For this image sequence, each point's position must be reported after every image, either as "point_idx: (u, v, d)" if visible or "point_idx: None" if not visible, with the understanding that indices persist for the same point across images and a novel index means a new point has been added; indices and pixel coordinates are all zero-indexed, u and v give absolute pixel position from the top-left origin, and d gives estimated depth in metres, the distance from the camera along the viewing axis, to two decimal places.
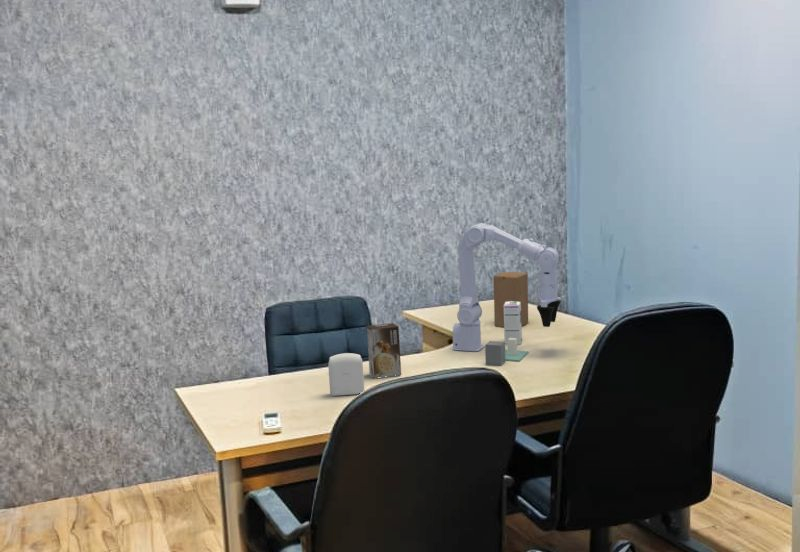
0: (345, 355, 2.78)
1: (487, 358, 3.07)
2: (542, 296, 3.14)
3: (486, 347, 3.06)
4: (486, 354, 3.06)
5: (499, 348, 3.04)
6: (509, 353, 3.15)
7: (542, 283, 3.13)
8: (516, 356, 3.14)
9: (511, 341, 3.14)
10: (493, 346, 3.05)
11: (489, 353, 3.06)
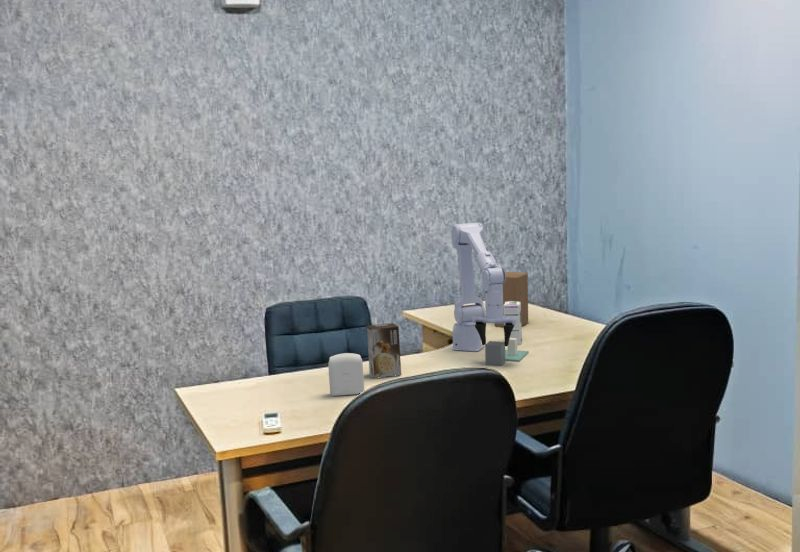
0: (345, 355, 2.78)
1: (487, 358, 3.07)
2: None
3: (486, 347, 3.06)
4: (486, 354, 3.06)
5: (499, 348, 3.04)
6: (509, 353, 3.15)
7: None
8: (516, 356, 3.14)
9: (511, 341, 3.14)
10: (493, 346, 3.05)
11: (489, 353, 3.06)
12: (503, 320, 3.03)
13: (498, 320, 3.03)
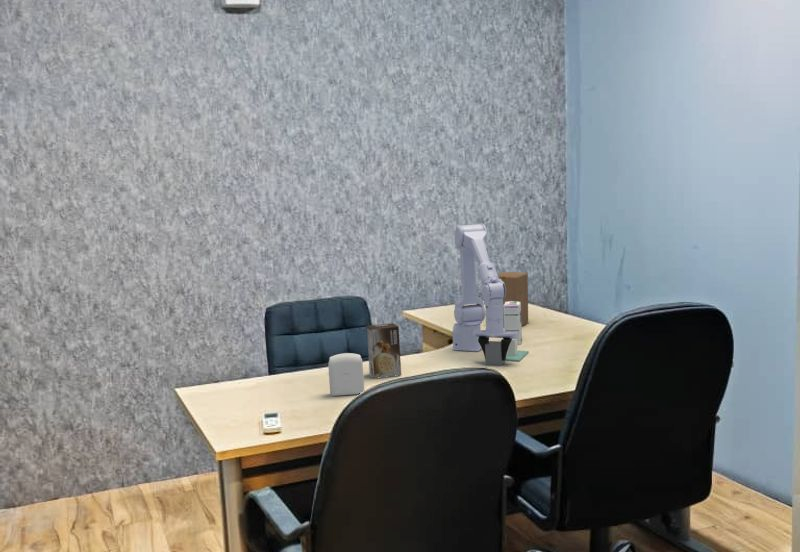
0: (345, 355, 2.78)
1: (487, 358, 3.07)
2: None
3: (486, 347, 3.06)
4: (486, 354, 3.06)
5: (499, 348, 3.04)
6: (509, 353, 3.15)
7: None
8: (516, 356, 3.14)
9: (511, 341, 3.14)
10: (493, 346, 3.05)
11: (489, 353, 3.06)
12: (503, 335, 3.04)
13: (498, 335, 3.04)
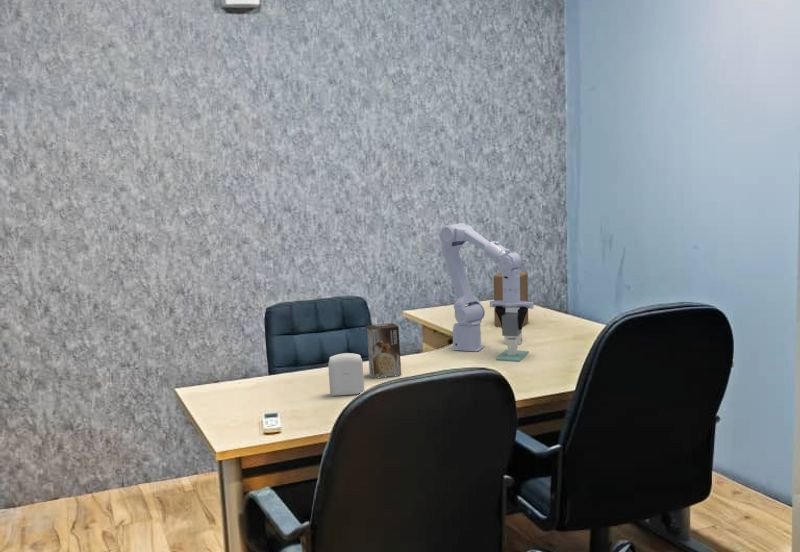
0: (345, 355, 2.78)
1: (503, 329, 3.13)
2: None
3: (503, 318, 3.12)
4: (503, 325, 3.13)
5: (515, 319, 3.11)
6: (509, 353, 3.15)
7: (503, 287, 3.12)
8: (516, 356, 3.14)
9: (511, 341, 3.14)
10: (509, 317, 3.11)
11: (505, 324, 3.12)
12: (520, 304, 3.10)
13: (515, 304, 3.10)
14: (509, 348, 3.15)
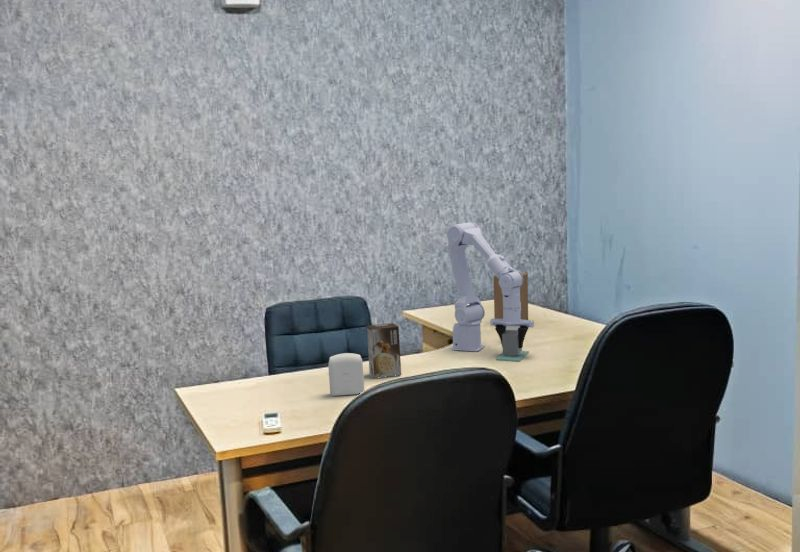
0: (345, 355, 2.78)
1: (504, 348, 3.14)
2: None
3: (503, 337, 3.13)
4: (503, 343, 3.14)
5: (516, 338, 3.12)
6: None
7: (503, 306, 3.13)
8: (516, 356, 3.14)
9: None
10: (510, 336, 3.12)
11: (506, 343, 3.13)
12: (520, 323, 3.11)
13: (515, 323, 3.11)
14: None
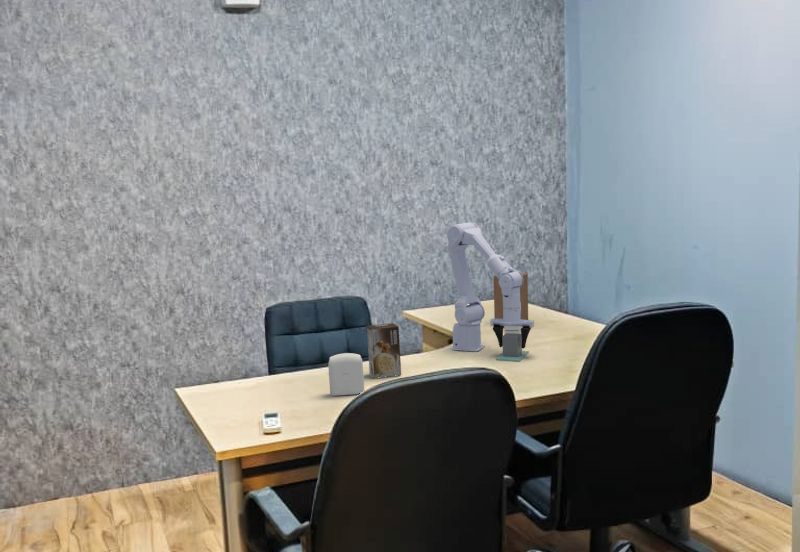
0: (345, 355, 2.78)
1: (504, 350, 3.14)
2: None
3: (504, 339, 3.14)
4: (503, 346, 3.14)
5: (516, 340, 3.12)
6: None
7: (503, 306, 3.13)
8: None
9: None
10: (510, 338, 3.13)
11: (506, 345, 3.14)
12: (520, 323, 3.11)
13: (515, 323, 3.11)
14: None
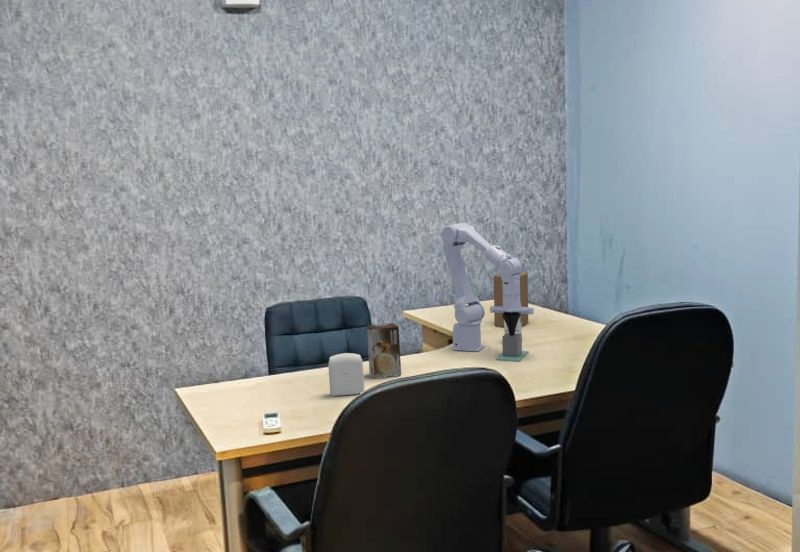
0: (345, 355, 2.78)
1: (504, 350, 3.14)
2: None
3: (504, 339, 3.14)
4: (503, 346, 3.14)
5: (516, 340, 3.12)
6: None
7: (503, 293, 3.12)
8: None
9: None
10: (510, 338, 3.13)
11: (506, 345, 3.14)
12: (520, 310, 3.11)
13: (515, 310, 3.11)
14: None
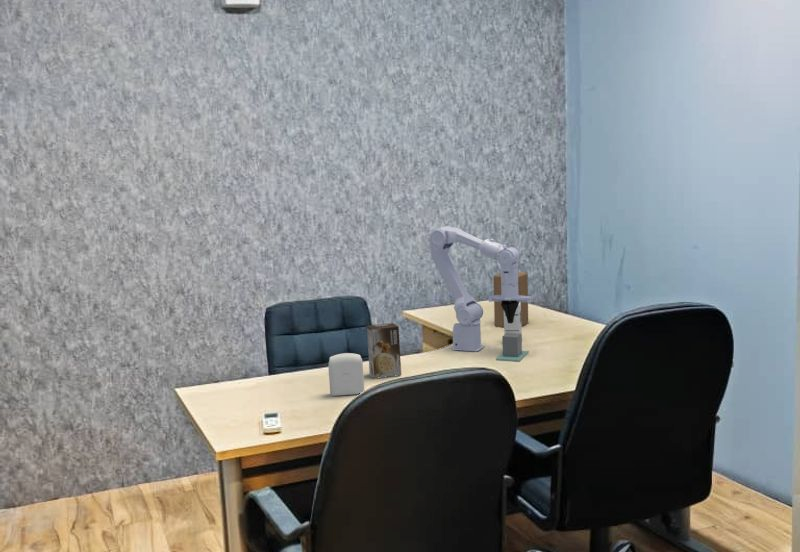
0: (345, 355, 2.78)
1: (504, 350, 3.14)
2: None
3: (504, 339, 3.14)
4: (503, 346, 3.14)
5: (516, 340, 3.12)
6: None
7: (502, 282, 3.16)
8: None
9: None
10: (510, 338, 3.13)
11: (506, 345, 3.14)
12: (518, 298, 3.15)
13: (513, 298, 3.16)
14: None
